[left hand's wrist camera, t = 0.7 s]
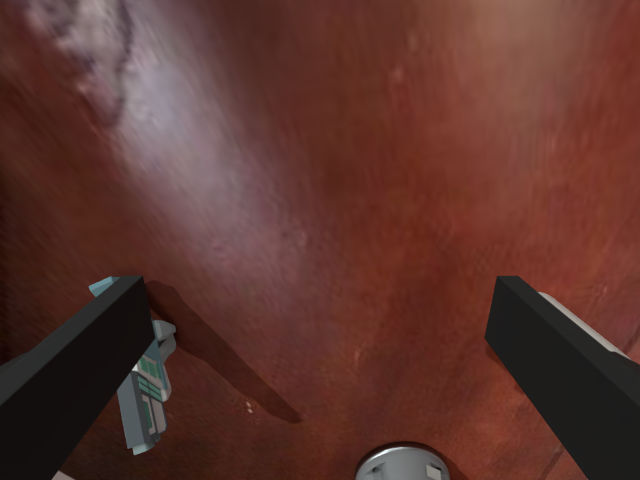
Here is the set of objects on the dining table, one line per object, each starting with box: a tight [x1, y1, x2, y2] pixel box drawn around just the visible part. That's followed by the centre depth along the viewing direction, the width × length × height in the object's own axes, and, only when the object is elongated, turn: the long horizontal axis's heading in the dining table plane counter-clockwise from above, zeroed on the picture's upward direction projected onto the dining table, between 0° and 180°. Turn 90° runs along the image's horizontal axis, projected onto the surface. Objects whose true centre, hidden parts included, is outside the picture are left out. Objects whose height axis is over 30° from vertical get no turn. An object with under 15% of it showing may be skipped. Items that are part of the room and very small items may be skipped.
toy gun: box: [89, 277, 176, 455], centre depth 41 cm, size 4×19×10 cm
